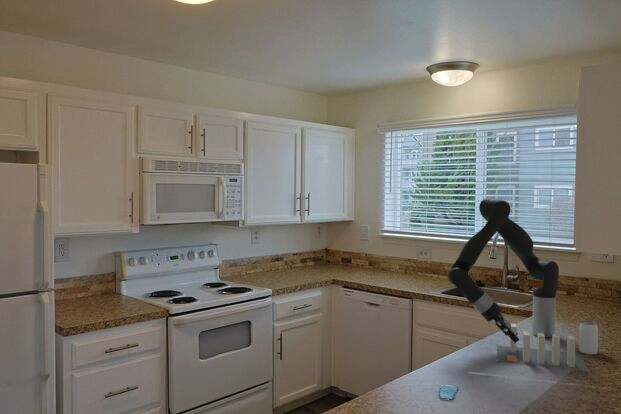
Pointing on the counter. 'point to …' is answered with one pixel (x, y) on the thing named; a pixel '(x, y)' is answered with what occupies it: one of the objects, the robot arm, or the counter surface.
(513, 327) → the domino
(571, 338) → the domino
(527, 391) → the counter surface
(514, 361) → the slate mat
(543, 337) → the domino
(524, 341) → the domino
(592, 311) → the counter surface
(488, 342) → the counter surface
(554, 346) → the domino
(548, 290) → the robot arm
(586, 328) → the can
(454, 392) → the sponge
